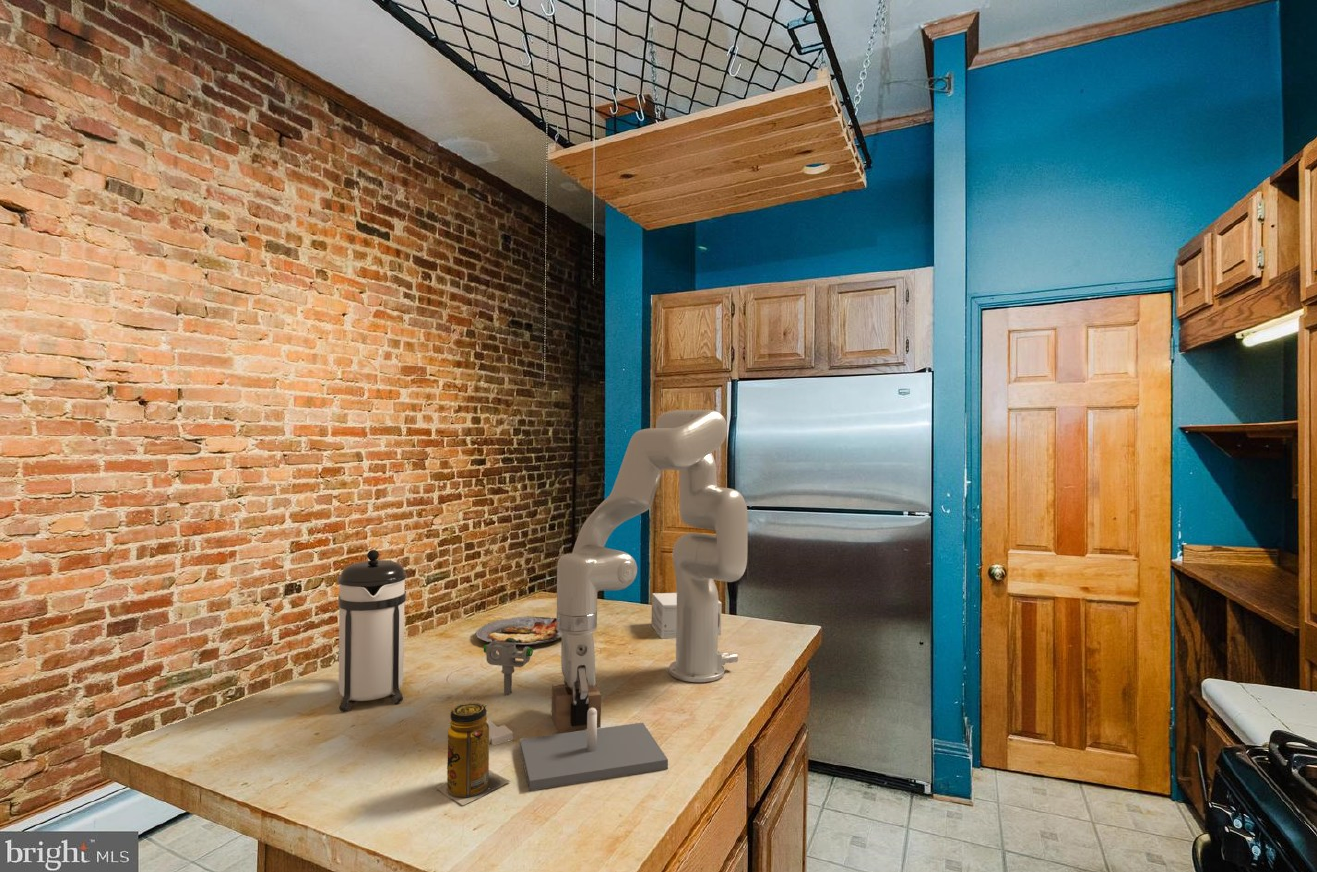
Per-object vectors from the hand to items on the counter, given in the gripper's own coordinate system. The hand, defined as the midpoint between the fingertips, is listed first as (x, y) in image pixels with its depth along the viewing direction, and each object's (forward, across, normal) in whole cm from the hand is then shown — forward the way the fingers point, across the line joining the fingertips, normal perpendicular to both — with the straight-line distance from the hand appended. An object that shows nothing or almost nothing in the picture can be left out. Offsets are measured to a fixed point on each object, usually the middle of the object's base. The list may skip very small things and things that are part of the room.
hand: (575, 715), depth 120 cm
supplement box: (+2, +48, -40) cm, 63 cm away
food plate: (+2, +55, +3) cm, 55 cm away
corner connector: (+2, -1, +17) cm, 17 cm away
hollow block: (+1, 0, 0) cm, 1 cm away
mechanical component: (+1, +17, +11) cm, 20 cm away
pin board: (+1, -14, 0) cm, 14 cm away
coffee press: (+2, +24, +38) cm, 45 cm away
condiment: (+2, -17, +19) cm, 26 cm away
